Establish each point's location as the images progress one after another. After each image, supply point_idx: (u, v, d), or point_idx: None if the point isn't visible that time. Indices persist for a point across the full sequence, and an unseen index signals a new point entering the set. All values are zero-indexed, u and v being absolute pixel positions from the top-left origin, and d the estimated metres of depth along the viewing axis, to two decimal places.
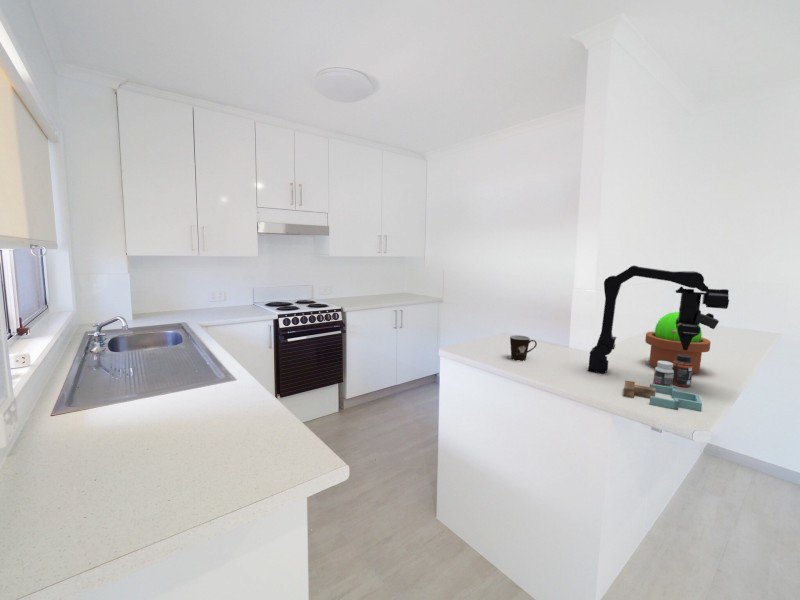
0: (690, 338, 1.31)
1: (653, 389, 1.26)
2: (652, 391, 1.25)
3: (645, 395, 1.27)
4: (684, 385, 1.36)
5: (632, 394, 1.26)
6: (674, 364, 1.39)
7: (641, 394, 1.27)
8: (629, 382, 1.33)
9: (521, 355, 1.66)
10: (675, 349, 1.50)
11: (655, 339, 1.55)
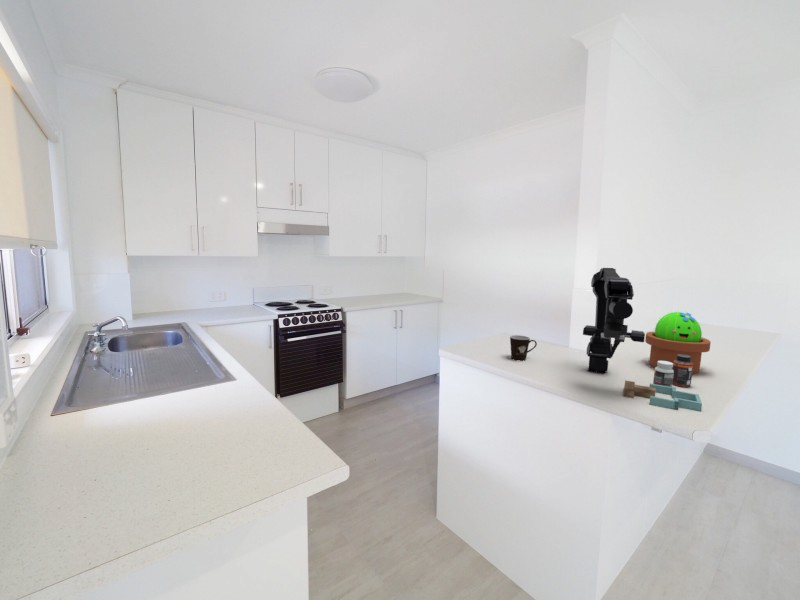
0: None
1: (653, 389, 1.26)
2: (652, 391, 1.25)
3: (645, 395, 1.27)
4: (684, 385, 1.36)
5: (632, 394, 1.26)
6: (674, 364, 1.39)
7: (641, 394, 1.27)
8: (629, 382, 1.33)
9: (521, 355, 1.66)
10: (675, 349, 1.50)
11: (655, 339, 1.55)
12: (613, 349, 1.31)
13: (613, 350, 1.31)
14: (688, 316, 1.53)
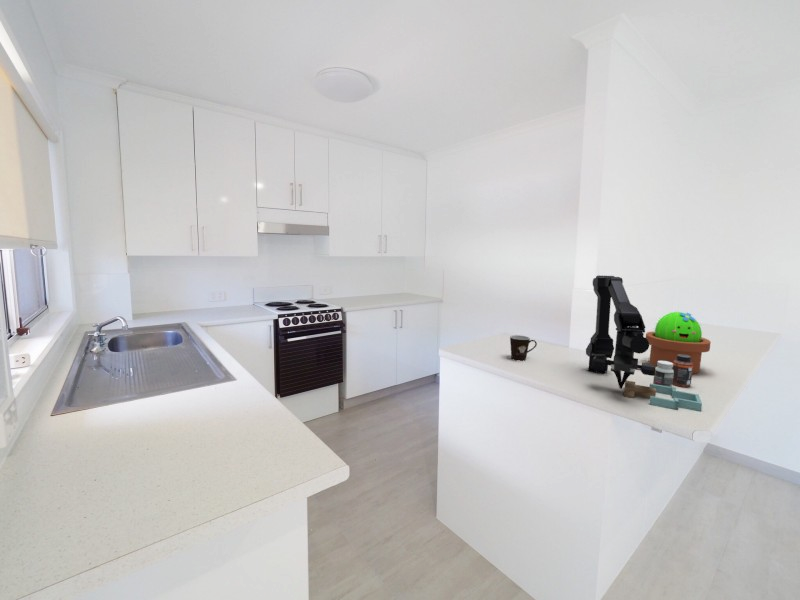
0: None
1: (653, 389, 1.26)
2: (652, 391, 1.25)
3: (645, 395, 1.27)
4: (684, 385, 1.36)
5: (632, 394, 1.26)
6: (674, 364, 1.39)
7: (641, 394, 1.27)
8: (629, 382, 1.32)
9: (521, 355, 1.66)
10: (675, 349, 1.50)
11: (655, 339, 1.55)
12: (623, 381, 1.30)
13: (623, 382, 1.30)
14: (688, 316, 1.53)
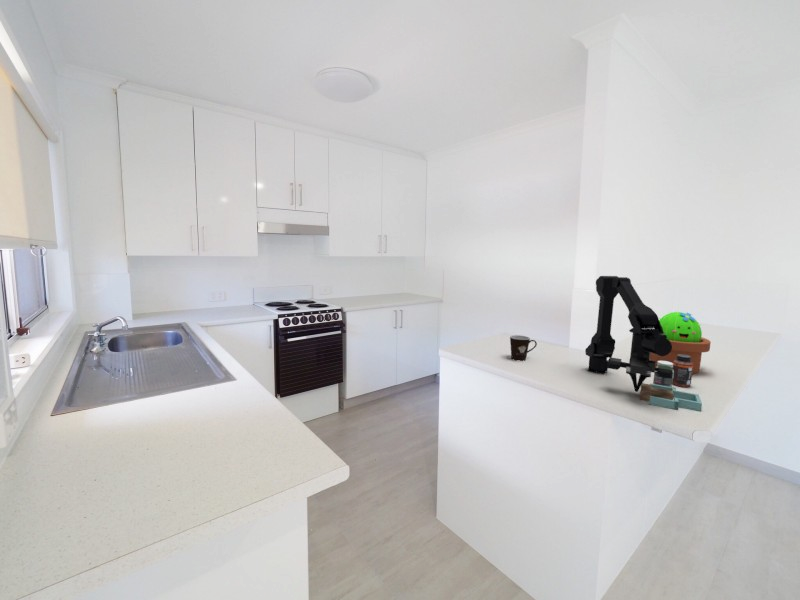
0: None
1: (671, 392, 1.23)
2: (669, 395, 1.23)
3: None
4: (684, 385, 1.36)
5: (649, 397, 1.23)
6: (674, 364, 1.39)
7: None
8: (645, 385, 1.30)
9: (521, 355, 1.66)
10: (675, 349, 1.50)
11: None
12: (639, 384, 1.28)
13: (639, 385, 1.28)
14: (688, 316, 1.53)
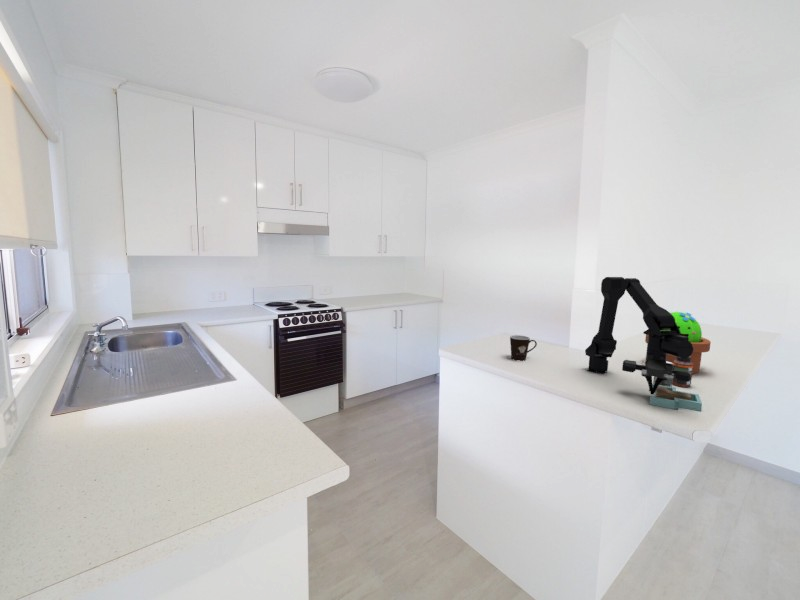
0: None
1: (688, 395, 1.21)
2: (686, 398, 1.20)
3: None
4: (684, 385, 1.36)
5: None
6: (674, 364, 1.39)
7: None
8: (661, 388, 1.27)
9: (521, 355, 1.66)
10: None
11: None
12: (655, 387, 1.25)
13: (655, 388, 1.25)
14: (688, 316, 1.53)
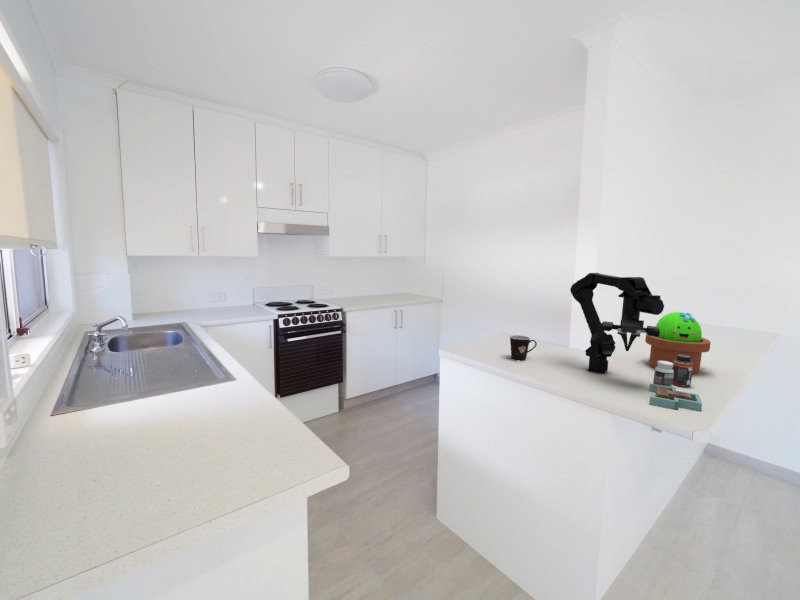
0: None
1: (688, 395, 1.21)
2: (687, 398, 1.20)
3: None
4: (684, 385, 1.36)
5: None
6: (674, 364, 1.39)
7: None
8: (661, 388, 1.27)
9: (521, 355, 1.66)
10: (675, 349, 1.50)
11: (655, 339, 1.55)
12: (629, 343, 1.39)
13: (629, 344, 1.39)
14: (688, 316, 1.53)
